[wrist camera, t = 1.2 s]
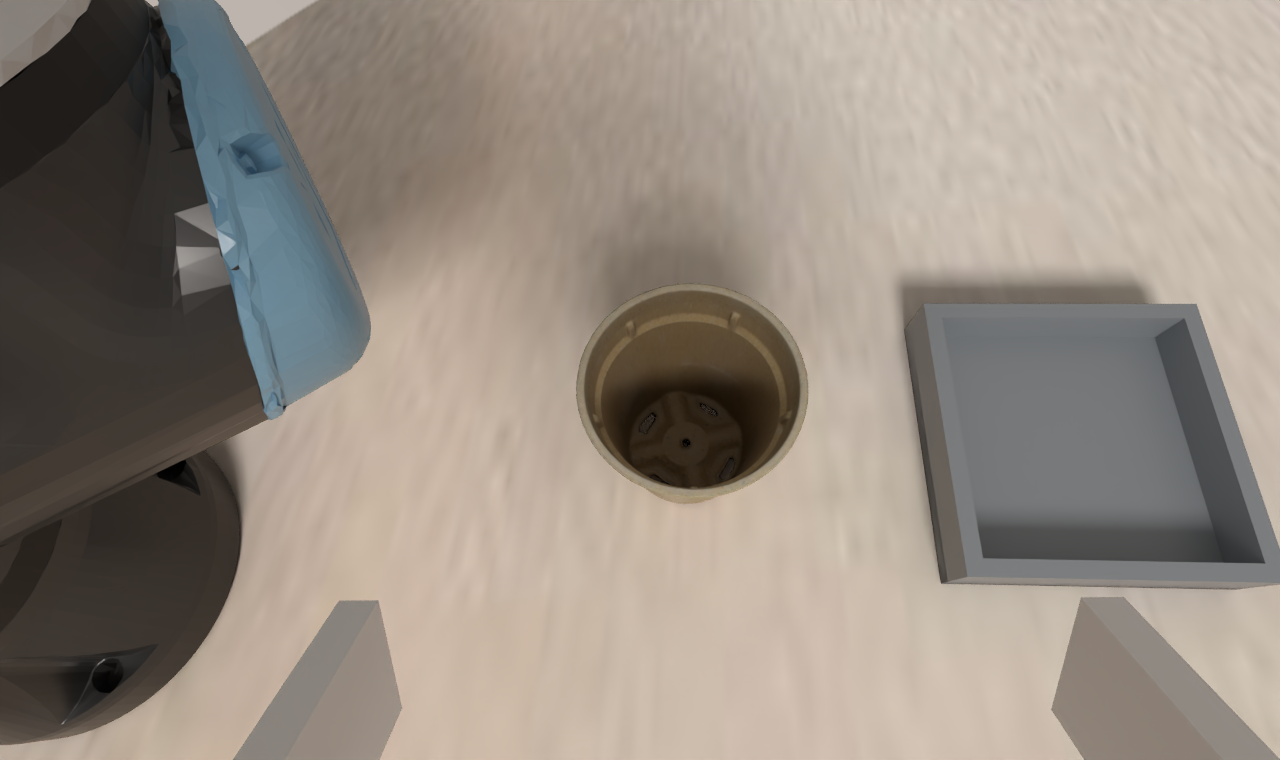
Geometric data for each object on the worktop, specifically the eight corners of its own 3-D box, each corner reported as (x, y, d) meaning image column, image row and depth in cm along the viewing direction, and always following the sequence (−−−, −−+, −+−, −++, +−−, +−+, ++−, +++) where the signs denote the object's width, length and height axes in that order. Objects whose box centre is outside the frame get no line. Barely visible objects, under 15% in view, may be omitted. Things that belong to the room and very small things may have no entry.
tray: (941, 583, 32) (967, 576, 29) (904, 329, 37) (923, 303, 34) (1235, 589, 31) (1290, 582, 28) (1156, 330, 36) (1196, 303, 34)
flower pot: (612, 353, 37) (597, 270, 29) (781, 374, 36) (814, 294, 28) (581, 520, 34) (555, 478, 26) (768, 548, 33) (801, 513, 25)
